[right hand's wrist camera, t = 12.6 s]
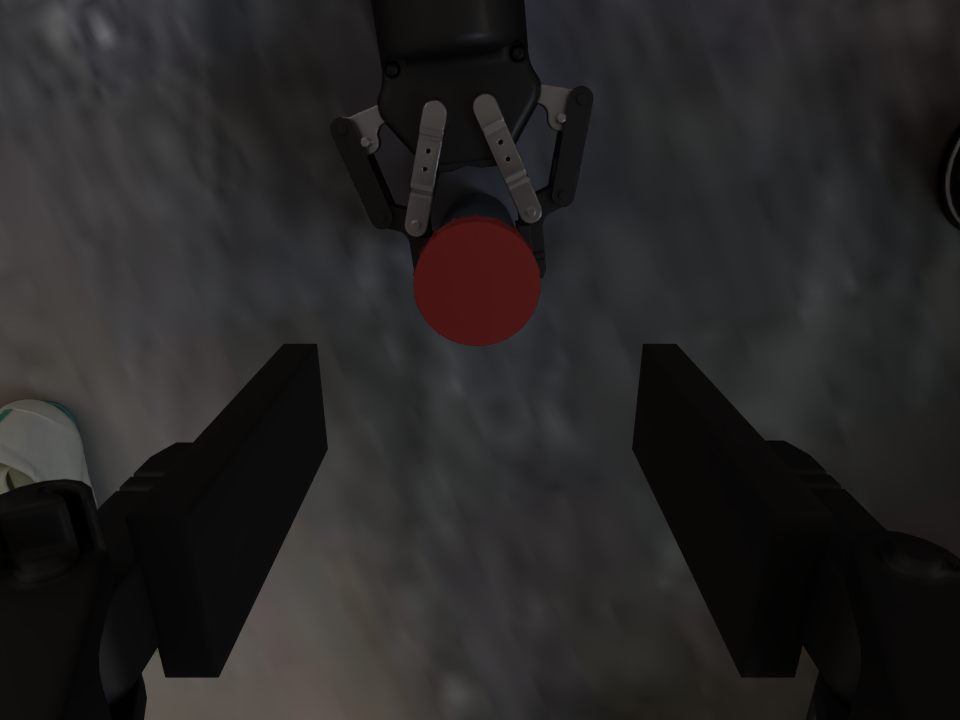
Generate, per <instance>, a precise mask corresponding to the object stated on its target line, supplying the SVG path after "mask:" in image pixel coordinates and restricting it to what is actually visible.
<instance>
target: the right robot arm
mask: <svg viewBox="0 0 960 720" xmlns="http://www.w3.org/2000/svg"><path fill="white" fill-rule="evenodd" d="M327 450H328V446H327V436H326V426H325V417H324V407H323V397H322V388H321V378H320V368H319V359H318V349H317V344H283V345H282V346H281V348H280V349H279V350H278V351H277V352H276V353H275V354H274V355H273V356H272V357H271V358H270V359H269V361H268V362H267V363H266V364H265V365H264V366H263V367H262V368H261V369H260V370H259V371H258V373H257V374H256V375H255V376H254V377H253V378H252V379H251V380H250V381H249V382H248V383H247V384H246V386H245V387H244V388H243V389H242V390H241V391H240V392H239V393H238V394H237V395H236V396H235V398H234V399H233V400H232V401H231V402H230V403H229V404H228V405H227V406H226V407H225V408H224V410H223V411H222V412H221V413H220V414H219V415H218V416H217V417H216V418H215V419H214V420H213V421H212V423H211V424H210V425H209V426H208V427H207V428H206V429H205V430H204V431H203V432H202V433H201V435H200V436H199V437H198V438H197V439H196V440H195V441H194V442H193V443H175V444H173V445H171V446H169V447H168V448H166V449H164V450H162V451H160V452H159V453H157V454H155V455H153V456H151V457H150V458H149V459H148V460H147V461H146V462H145V463H144V464H143V465H142V466H141V467H140V468H139V469H138V470H137V471H136V472H135V473H134V477H130V478H129V479H128V480H127V481H126V482H125V483H124V484H123V485H122V486H121V487H120V490H119V491H116V492H115V493H114V494H113V495H112V496H111V497H110V498H109V499H108V500H107V501H106V502H105V503H104V504H103V505H102V506H101V507H100V508H99V509H98V510H97V506H96V503H95V499H94V495H93V492H92V488H91V487H90V486H89V485H87V484H86V483H84V482H82V481H77V480H70V479H59V480H48V481H41V482H37V483H33V484H29V485H25V486H21V487H18V488H15V489H13V490H10V491H8V492H5V493H3V494H0V720H144V716H145V708H146V701H147V696H146V689H145V684H144V680H143V677H142V671H143V670H144V668H145V667H146V665H147V663H148V662H149V660H150V659H151V657H152V655H153V654H154V652H155V651H156V649H157V647H158V650H159V654H160V658H161V662H162V666H163V670H164V674H165V677H219V676H220V674H221V671H222V669H223V667H224V665H225V663H226V661H227V659H228V657H229V655H230V653H231V650H232V648H233V646H234V644H235V642H236V640H237V638H238V636H239V634H240V632H241V630H242V627H243V625H244V623H245V621H246V619H247V617H248V615H249V613H250V611H251V609H252V607H253V604H254V602H255V600H256V598H257V596H258V594H259V592H260V590H261V588H262V586H263V584H264V581H265V579H266V577H267V575H268V573H269V571H270V569H271V567H272V565H273V563H274V561H275V558H276V556H277V554H278V552H279V550H280V548H281V546H282V544H283V542H284V540H285V537H286V535H287V533H288V531H289V529H290V527H291V525H292V523H293V521H294V519H295V517H296V514H297V512H298V510H299V508H300V506H301V504H302V502H303V500H304V498H305V496H306V494H307V491H308V489H309V487H310V485H311V483H312V481H313V479H314V477H315V475H316V473H317V471H318V468H319V466H320V464H321V462H322V460H323V458H324V456H325V454H326V452H327ZM632 450H633V452H634V454H635V456H636V458H637V460H638V462H639V464H640V466H641V468H642V471H643V473H644V475H645V477H646V479H647V481H648V483H649V485H650V487H651V489H652V491H653V494H654V496H655V498H656V500H657V502H658V504H659V506H660V508H661V510H662V512H663V514H664V517H665V519H666V521H667V523H668V525H669V527H670V529H671V531H672V533H673V535H674V537H675V540H676V542H677V544H678V546H679V548H680V550H681V552H682V554H683V556H684V558H685V561H686V563H687V565H688V567H689V569H690V571H691V573H692V575H693V577H694V579H695V581H696V584H697V586H698V588H699V590H700V592H701V594H702V596H703V598H704V600H705V602H706V604H707V607H708V609H709V611H710V613H711V615H712V617H713V619H714V621H715V623H716V625H717V627H718V630H719V632H720V634H721V636H722V638H723V640H724V642H725V644H726V646H727V648H728V650H729V653H730V655H731V657H732V659H733V661H734V663H735V665H736V667H737V669H738V671H739V674H740V676H741V677H795V674H796V670H797V666H798V662H799V658H800V654H801V650H802V646H804V647H805V649H806V651H807V652H808V654H809V655H810V657H811V659H812V660H813V662H814V663H815V665H816V667H817V668H818V670H819V673H818V677H817V680H816V684H815V688H814V691H813V695H812V699H811V702H810V706H809V710H808V714H807V717H806V720H960V559H959V558H958V557H957V556H955V555H954V554H952V553H951V552H949V551H948V550H946V549H945V548H942V547H940V546H938V545H936V544H934V543H932V542H929V541H927V540H925V539H923V538H919V537H916V536H912V535H909V534H905V533H902V532H893V531H887V530H886V529H885V528H884V527H883V526H882V525H881V524H880V523H879V522H878V521H877V520H876V519H875V518H874V517H872V516H871V515H870V514H869V513H868V512H867V511H866V510H865V509H864V508H863V507H862V506H861V505H860V504H859V503H858V502H857V501H856V500H855V499H854V498H853V497H852V496H851V495H850V494H849V493H848V492H847V491H846V490H845V489H841V485H840V484H839V483H838V482H837V481H836V480H835V479H834V478H833V477H832V476H831V475H827V471H826V470H825V469H824V468H823V467H822V466H821V465H820V464H819V463H818V462H817V461H816V460H815V459H814V458H813V457H811V456H810V455H809V454H807V453H806V452H804V451H802V450H800V449H798V448H797V447H795V446H793V445H791V444H789V443H788V442H786V441H765V440H764V439H763V438H762V437H761V436H760V435H759V433H758V432H757V431H756V430H755V429H754V428H753V427H752V426H751V425H750V424H749V423H748V421H747V420H746V419H745V418H744V417H743V416H742V415H741V414H740V413H739V412H738V411H737V410H736V408H735V407H734V406H733V405H732V404H731V403H730V402H729V401H728V400H727V399H726V398H725V396H724V395H723V394H722V393H721V392H720V391H719V390H718V389H717V388H716V387H715V386H714V384H713V383H712V382H711V381H710V380H709V379H708V378H707V377H706V376H705V375H704V374H703V373H702V371H701V370H700V369H699V368H698V367H697V366H696V365H695V364H694V363H693V362H692V361H691V359H690V358H689V357H688V356H687V355H686V354H685V353H684V352H683V351H682V350H681V349H680V348H679V346H678V345H677V344H643V349H642V359H641V368H640V378H639V388H638V397H637V407H636V417H635V426H634V436H633V446H632Z"/></svg>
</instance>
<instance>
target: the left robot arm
mask: <svg viewBox="0 0 960 720" xmlns="http://www.w3.org/2000/svg"><path fill="white" fill-rule="evenodd" d="M371 3H372V10H373V16H374V22H375V29H376V35H377V41H378V48H379V54H380V60H381V67H382V75H383V79H382V87H381V91H380V94H379V97H378V103H377V105H376V106H374V107H372V108H369V109H367V110H365V111H363V112H360V113H358V114H356V115H353V116H351V117H340V118H337V119H335V120H334V121H333V122H332V124H331V133H332V136H333V138H334V140H335V142H336V145H337V147H338V149H339V151H340V154H341V156H342V158H343V160H344V162H345V165H346V167H347V169H348V171H349V173H350V176H351V178H352V180H353V182H354V185H355V187H356V189H357V191H358V193H359V196H360V198H361V200H362V202H363V204H364V207H365V209H366V211H367V213H368V216H369V218H370V220H371V222H372V224H373V225H374V226H375V227H376V228H379V229H386V228H388V229H392V230H396V231H400V232H402V233H404V234H405V235H406V236H407V237H408V239H409V242H410V248H411V254H412V260H413V266H414V271H415V269H416V266H417V262H418V260H419V258H420V256H421V255H419V253H420V251H421V249H422V247H423V246H424V247H425V245H426V244H427V242H428V241H429V239H430V238H431V237H432V235H433V233H434V231H432V226H431V214H432V209H433V203H434V198H435V193H436V189H437V184H438V179H439V173H441V172H449V171H454V170H456V169H459V168H461V167H463V166H466V165H470V166H476V167H490V166H498V168H499V170H500V172H501V175H502V177H503V179H504V181H505V184H506V186H507V188H508V190H509V193H510V195H511V197H512V199H513V201H514V204H515V206H516V208H517V210H518V219H519V220H518V221H515V225H516V228H517V230H518V232H519V233H520V234H521V236H522V237H523V238H524V239H525V240H526V242H527V244H528V243H530V245H531V247H532V249H533V251H532V254H533V256H534V258H535V260H536V262H537V264H538V266H539V268H540V272H539V274H540V278H543V276H544V273H545V270H546V265H545V253H544V240H543V228H542V225H543V221H544V219H545V217H546V216H547V215H548V214H549V213H551V212H553V211H555V210H557V209H559V208H561V207H566V206H568V205H570V204H571V203H572V201H573V199H574V196H575V191H576V185H577V180H578V175H579V170H580V165H581V160H582V155H583V149H584V144H585V139H586V134H587V129H588V124H589V118H590V113H591V108H592V103H593V94H592V92H591V90H590V89H589V88H587V87H585V86H579V87H576V88H574V89H568V88H562V87H556V86H550V85H543V84H541V83H540V80H539V77H538V76H537V74H536V73H535V71H534V69H533V67H532V65H531V62H530V59H529V54H528V43H527V30H526V17H525V5H524V0H371ZM537 104H539V105H541V106H542V107H543V108H544V109H545V111H546V113H547V124H548V126H549V127H550V128H551V129H553V130H556V131H558V132H557V138H556V143H555V149H554V155H553V160H552V166H551V171H550V177H549V183H548V186H546V187H544V188H542V189H540V190H538V191H536V192H534V189H533V187H532V185H531V182H530V180H529V178H528V175H527V172H526V170H525V167H524V165H523V163H522V160H521V158H520V156H519V153H518V151H517V149H516V146H515V144H516V143H517V141H518V139H519V137H520V135H521V133H522V132H523V130H524V128H525V126H526V124H527V122H528V121H529V119H530V117H531V115H532V113H533V111H534V110H535V108H536V106H537ZM384 124H386V125H387V126H388V127H389V128H390V129H391V130H392V131H393V132H394V133H395V135H396V136H397V137H398V138H399V139H400V140H401V141H402V142H403V143H404V144H405V146H406V147H407V148H408V149H409V150H410V151H411V152H412V153H413V154H414V155H415V162H414V168H413V174H412V179H411V186H410V196H409V202H408V207H406V206H402V205H398V204H395V202H394V200H393V197H392V195H391V193H390V190H389V188H388V186H387V183H386V181H385V179H384V177H383V174H382V172H381V170H380V167H379V165H378V163H377V160H376V158H375V156H374V153H376V152H377V151H378V150H379V149H380V147H381V139H380V129H381V127H382V126H383V125H384ZM506 158H507V159H506ZM496 164H497V165H496ZM938 194H939V199H940V203H941V206H942V208H943V210H944V212H945V214H946V216H947V217H948V219H949V220H950V221H951V222H952V223H953V224H954V225H955V226H956V227H957V228H959V229H960V126H959V128H958V129H957V131H956V132H955V133H954V135H953V137H952V138H951V140H950V142H949V144H948V146H947V148H946V150H945V152H944V155H943V158H942V161H941V164H940V169H939V175H938Z"/></svg>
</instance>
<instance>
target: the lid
mask: <svg viewBox="0 0 960 720" xmlns="http://www.w3.org/2000/svg"><path fill="white" fill-rule="evenodd" d="M532 251H533V249H532V247H531V245H530V243H528V244H527V242H526V240H525V239H524V238H523V237H522V236H521V234H520V233H519V232H518V230H517V228H516V227H514V228H513V227H511V226H510V225H508V224H507V223H505V222H503V221H501V220H498V217H495V218H492V217H487V216H476V214H474V216H467V217H462V218H459V219H456V220H455V218H453V219H452V221H451V222H449V223H447V224H446V225H444V226H443V227H441V228H440V229H439V230H438V231H437V230H435V231H434V233H433V235H432V237H431V238H430V239H429V241H428V242H427V244H426V245H425V247H424V246H423V247H422V249H421V251H420V253H419V255H421V256H420V258H419V260H418V262H417V266H416V269H415V271H414V273H413V276H414V294H415V295H414V296H415V298H416V302H417V305H418V308H419V310H420V312H421V314H422V315H423V317H424V318H425V320H426V321H427V323H428V324H429V325H430V326H431V327H432V328H433V329H434V330H435V331H437V332H438V333H439V334H441V335H442V336H444V337H445V338H447V339H449V340H451V341H454V342H457V343H460V344H464V345H470V346H484V345H490V344H494V343H498V342H500V341H503V340H505V339H507V338H509V337H510V336H512V335H514V334H515V333H516V332H517V331H519V330H520V329H521V328H522V327H523V326H524V325H525V324H526V323H527V321H528V320H529V319H530V317H531V315H532V314H533V312H534V310H535V308H536V305H537V302H538V298H539V294H540V274H539V272H540V268H539V266H538V264H537V262H536V260H535V258H534V256H533V254H532Z"/></svg>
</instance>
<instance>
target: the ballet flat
mask: <svg viewBox="0 0 960 720" xmlns="http://www.w3.org/2000/svg"><path fill="white" fill-rule="evenodd" d="M59 479H70V480H77V481H82V482H84V483H86V484H87V485H89V486H90V487H91V488H92V492H93V495H94V499H95V503H96V506H97V510H98V505H97V500H96V497H95V493H94V490H93V487H92V484H91V481H90V478H89V474H88V469H87V464H86V459H85V455H84V449H83V444H82V440H81V436H80V432H79V429H78V426H77V424H76V421H75V419H74V418H73V416H72V415H71V413H70V412H69V411H68V410H67V409H66V408H64V407H63V406H61V405H59V404H56V403H52V402H47V401H39V400H34V399H24V400H19V401H14V402H12V403H10V404H8V405H5V406H4V407H2V408H1V409H0V494H3V493H5V492H8V491H10V490H13V489H15V488H18V487H21V486H25V485H29V484H33V483H37V482H41V481H48V480H59Z"/></svg>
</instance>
